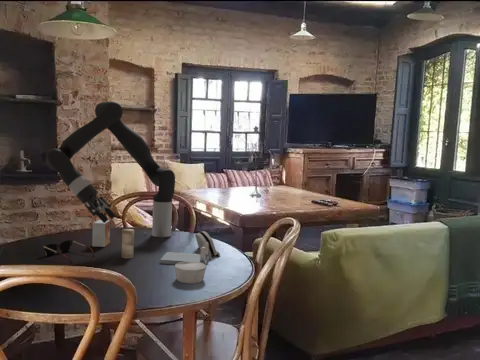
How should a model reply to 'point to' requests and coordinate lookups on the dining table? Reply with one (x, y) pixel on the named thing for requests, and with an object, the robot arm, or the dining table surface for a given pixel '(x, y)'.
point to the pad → (187, 256)
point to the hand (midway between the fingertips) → (110, 219)
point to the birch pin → (127, 243)
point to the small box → (101, 233)
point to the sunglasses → (61, 248)
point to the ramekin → (190, 272)
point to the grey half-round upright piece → (205, 237)
